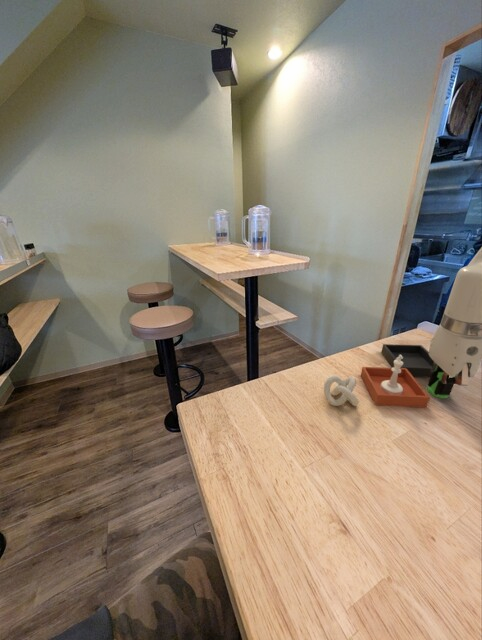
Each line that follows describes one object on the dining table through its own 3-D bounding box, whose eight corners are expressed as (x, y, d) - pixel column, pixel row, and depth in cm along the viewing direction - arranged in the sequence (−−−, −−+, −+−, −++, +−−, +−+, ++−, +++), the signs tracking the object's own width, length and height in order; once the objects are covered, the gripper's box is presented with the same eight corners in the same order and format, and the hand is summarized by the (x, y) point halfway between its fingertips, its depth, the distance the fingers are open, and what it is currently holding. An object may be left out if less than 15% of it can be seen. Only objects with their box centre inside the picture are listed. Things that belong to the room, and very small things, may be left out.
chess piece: (375, 385, 65) (383, 352, 61) (390, 380, 66) (398, 347, 62) (392, 397, 61) (402, 363, 57) (407, 391, 62) (417, 358, 58)
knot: (367, 406, 59) (371, 386, 57) (341, 418, 56) (345, 398, 54) (342, 387, 65) (346, 368, 63) (318, 397, 62) (321, 378, 60)
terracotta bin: (403, 377, 68) (406, 368, 67) (426, 407, 58) (430, 397, 57) (360, 375, 69) (362, 366, 68) (375, 405, 59) (377, 395, 58)
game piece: (445, 401, 60) (453, 380, 57) (424, 391, 63) (431, 372, 60) (450, 392, 62) (458, 373, 60) (430, 384, 65) (437, 365, 63)
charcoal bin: (419, 353, 78) (421, 345, 77) (443, 378, 67) (446, 368, 66) (381, 352, 80) (383, 344, 78) (398, 376, 69) (401, 367, 67)
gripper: (514, 343, 47) (478, 416, 55) (457, 310, 61) (435, 371, 69) (470, 342, 48) (441, 414, 56) (424, 309, 62) (406, 370, 70)
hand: (438, 390), depth 62 cm, fingers closed on game piece, 2 cm apart
